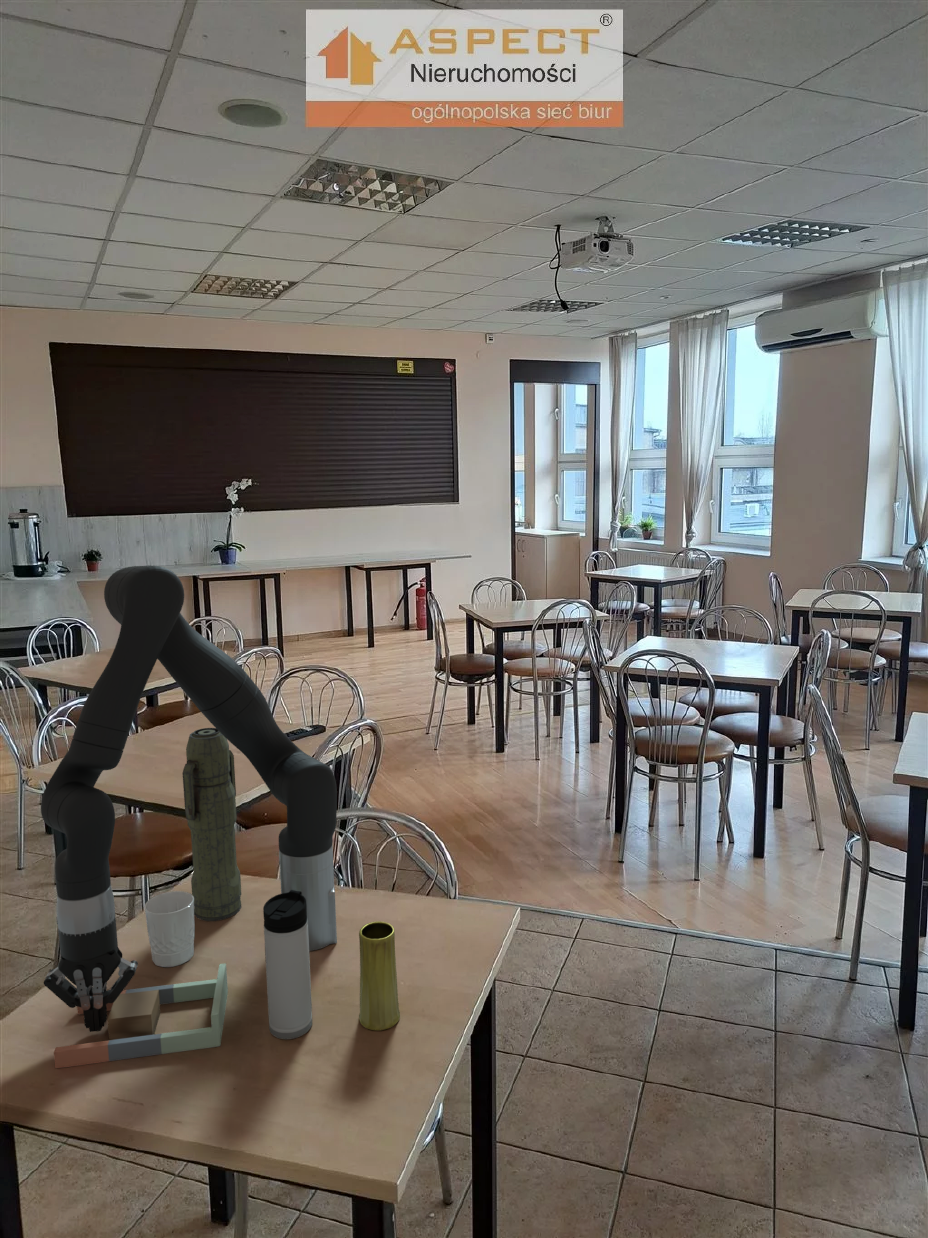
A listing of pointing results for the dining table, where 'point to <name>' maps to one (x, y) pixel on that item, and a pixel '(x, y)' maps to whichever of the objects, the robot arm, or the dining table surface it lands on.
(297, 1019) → the travel mug
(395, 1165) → the dining table surface
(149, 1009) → the walnut block
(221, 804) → the thermos
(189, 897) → the white cup
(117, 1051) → the channel
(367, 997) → the vase
